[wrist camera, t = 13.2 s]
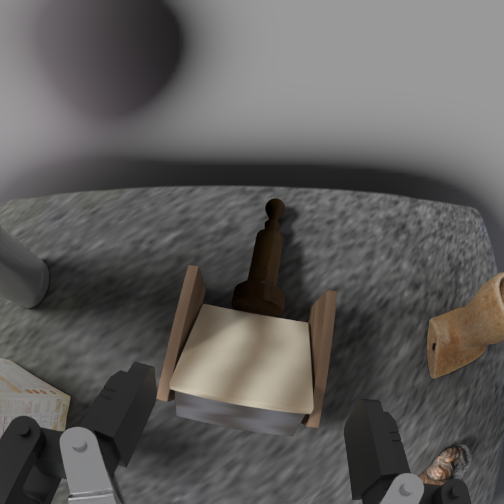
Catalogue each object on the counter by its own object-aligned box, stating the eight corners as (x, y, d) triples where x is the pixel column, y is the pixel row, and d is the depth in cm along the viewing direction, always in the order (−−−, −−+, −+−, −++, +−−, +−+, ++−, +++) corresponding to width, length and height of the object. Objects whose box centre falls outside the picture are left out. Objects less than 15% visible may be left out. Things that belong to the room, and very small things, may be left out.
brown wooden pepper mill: (263, 321, 40) (280, 220, 49) (294, 312, 35) (306, 202, 44) (222, 305, 37) (248, 201, 46) (248, 293, 32) (271, 180, 41)
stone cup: (471, 294, 41) (526, 263, 28) (483, 355, 37) (543, 337, 23) (412, 309, 40) (473, 276, 26) (425, 380, 35) (492, 372, 22)
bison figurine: (457, 442, 30) (417, 441, 31) (484, 446, 24) (445, 447, 24) (433, 502, 26) (390, 506, 26) (457, 512, 19) (413, 521, 20)
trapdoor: (172, 414, 27) (169, 383, 25) (201, 336, 40) (203, 303, 38) (297, 436, 27) (313, 408, 24) (297, 354, 40) (308, 322, 37)
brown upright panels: (173, 394, 34) (156, 398, 26) (198, 287, 40) (188, 264, 33) (301, 417, 33) (318, 427, 26) (318, 309, 40) (337, 291, 32)
